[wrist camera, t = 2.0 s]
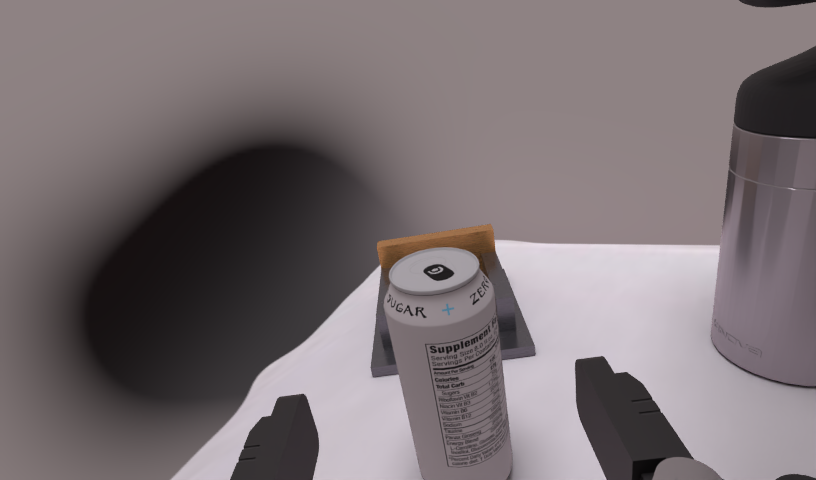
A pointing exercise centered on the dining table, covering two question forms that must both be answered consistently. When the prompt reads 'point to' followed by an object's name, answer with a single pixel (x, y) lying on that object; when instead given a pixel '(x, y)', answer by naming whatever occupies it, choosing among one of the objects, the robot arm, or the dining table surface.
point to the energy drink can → (450, 364)
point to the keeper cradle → (483, 247)
